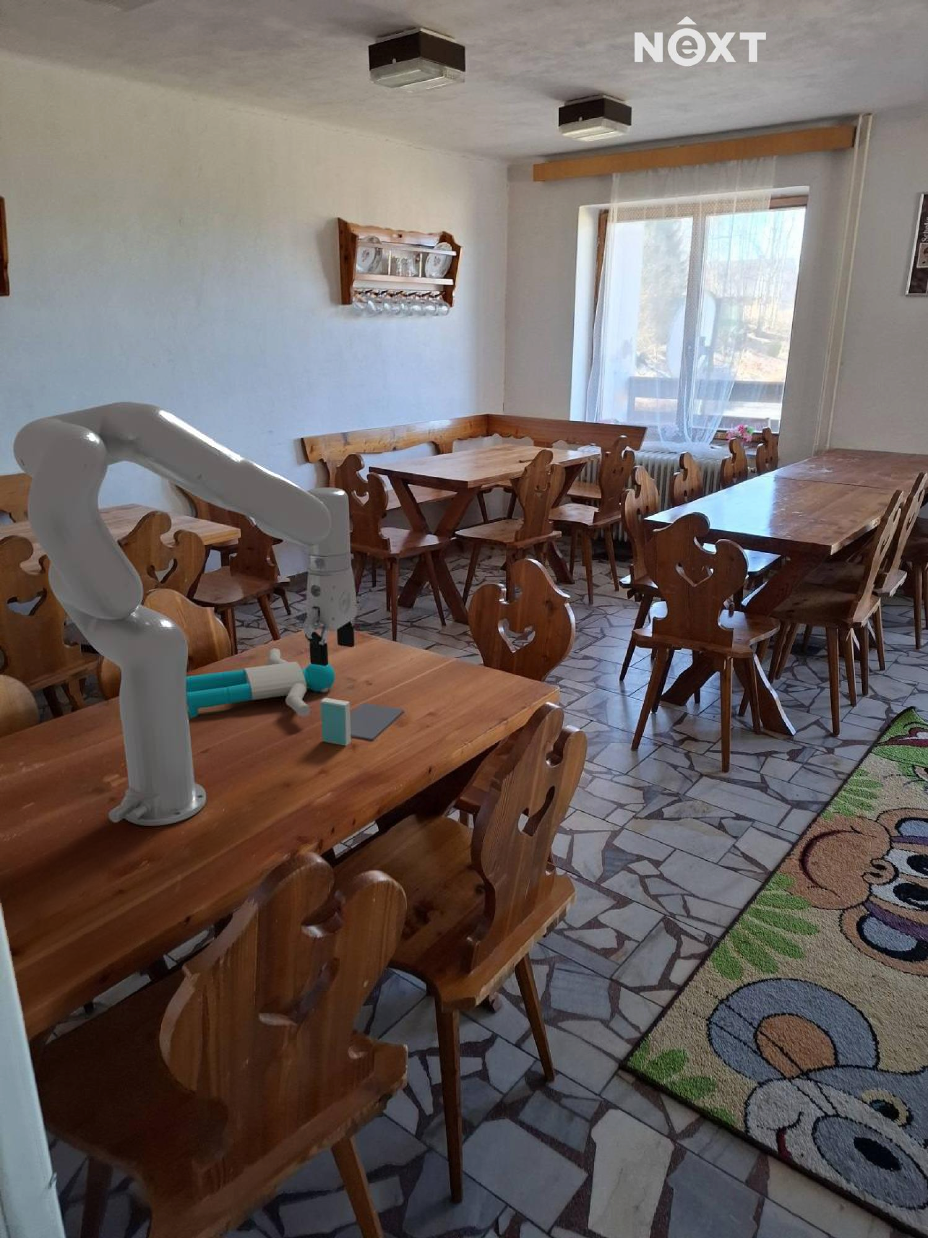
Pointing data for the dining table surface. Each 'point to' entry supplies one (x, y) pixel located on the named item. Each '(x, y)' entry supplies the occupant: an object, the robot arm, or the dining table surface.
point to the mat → (372, 720)
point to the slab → (335, 721)
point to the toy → (259, 684)
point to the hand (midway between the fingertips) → (333, 654)
